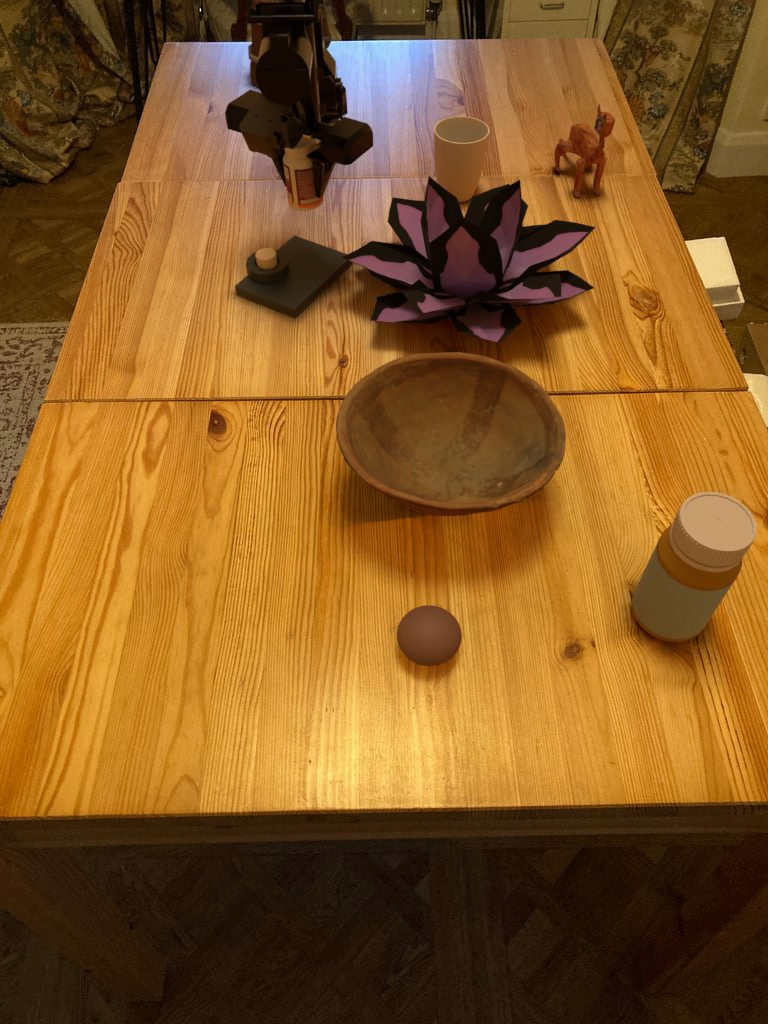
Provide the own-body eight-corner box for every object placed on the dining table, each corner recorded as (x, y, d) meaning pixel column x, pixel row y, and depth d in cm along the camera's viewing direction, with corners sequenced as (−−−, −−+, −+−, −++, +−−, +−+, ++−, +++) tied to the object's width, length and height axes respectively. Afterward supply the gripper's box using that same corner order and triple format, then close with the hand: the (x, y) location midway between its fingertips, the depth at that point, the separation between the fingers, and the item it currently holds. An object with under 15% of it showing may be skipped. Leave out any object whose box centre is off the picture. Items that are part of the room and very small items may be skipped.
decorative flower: (333, 368, 96) (317, 260, 85) (367, 236, 117) (358, 135, 106) (596, 373, 92) (616, 261, 81) (583, 236, 113) (597, 131, 102)
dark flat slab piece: (231, 292, 106) (227, 274, 103) (290, 241, 113) (288, 223, 110) (295, 318, 102) (293, 299, 100) (352, 264, 109) (351, 245, 107)
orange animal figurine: (539, 148, 129) (553, 60, 118) (577, 144, 129) (594, 57, 118) (572, 206, 118) (590, 115, 107) (613, 202, 118) (635, 111, 107)
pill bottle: (330, 197, 103) (325, 134, 96) (313, 215, 100) (307, 152, 94) (298, 189, 104) (292, 127, 98) (281, 207, 102) (273, 144, 95)
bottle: (621, 585, 76) (662, 490, 64) (689, 579, 77) (744, 484, 65) (641, 648, 72) (689, 559, 60) (713, 642, 72) (776, 552, 60)
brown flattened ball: (452, 614, 75) (455, 592, 71) (466, 669, 71) (469, 649, 68) (391, 622, 74) (391, 601, 71) (402, 678, 70) (402, 658, 67)
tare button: (252, 265, 105) (251, 255, 104) (265, 255, 106) (263, 245, 105) (269, 272, 104) (267, 262, 103) (281, 261, 105) (280, 251, 104)
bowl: (493, 606, 75) (505, 548, 67) (303, 509, 82) (293, 446, 75) (582, 462, 86) (601, 398, 78) (407, 389, 94) (409, 323, 86)
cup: (483, 180, 123) (489, 117, 115) (482, 208, 118) (489, 144, 110) (432, 178, 123) (435, 115, 115) (429, 206, 118) (432, 142, 110)
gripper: (184, 73, 88) (210, 200, 100) (319, 112, 82) (328, 242, 94) (244, 38, 93) (261, 162, 106) (374, 72, 87) (376, 200, 100)
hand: (304, 191), depth 101 cm, fingers closed on pill bottle, 5 cm apart
